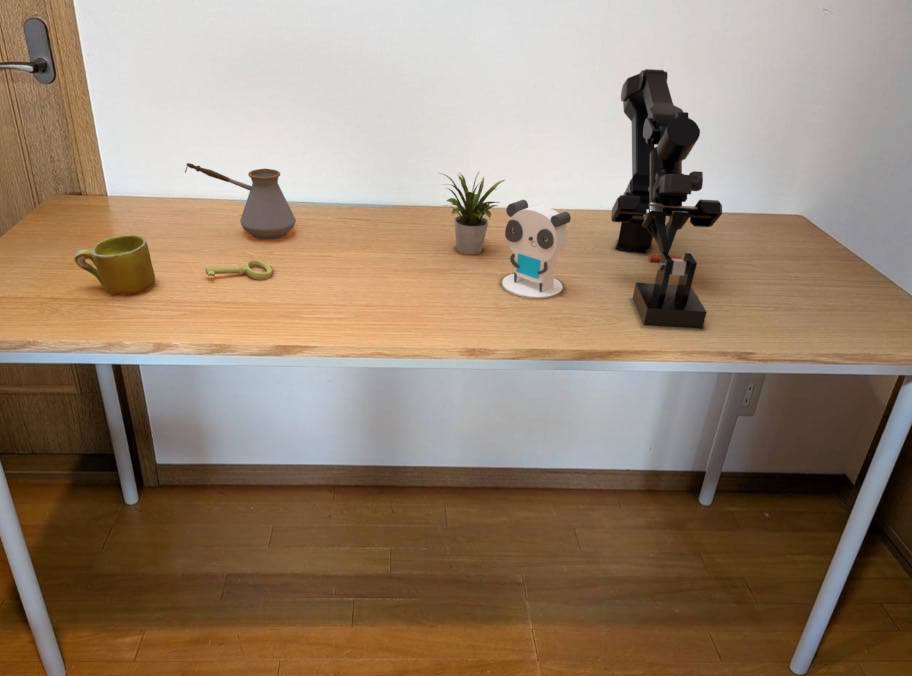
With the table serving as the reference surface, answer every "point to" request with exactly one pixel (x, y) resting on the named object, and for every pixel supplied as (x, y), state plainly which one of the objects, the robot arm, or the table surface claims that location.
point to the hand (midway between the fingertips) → (665, 254)
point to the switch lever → (677, 265)
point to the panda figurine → (534, 249)
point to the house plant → (471, 216)
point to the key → (243, 270)
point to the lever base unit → (670, 298)
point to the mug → (120, 264)
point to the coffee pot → (261, 204)
